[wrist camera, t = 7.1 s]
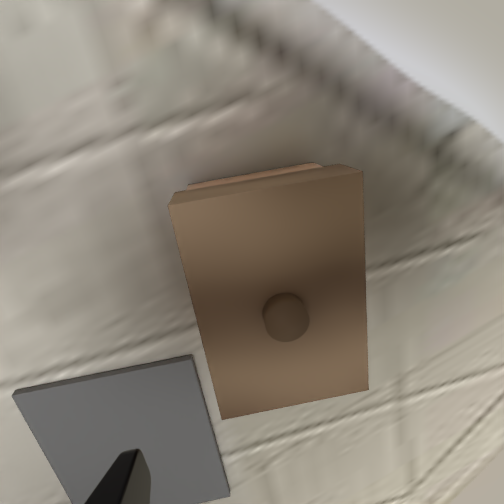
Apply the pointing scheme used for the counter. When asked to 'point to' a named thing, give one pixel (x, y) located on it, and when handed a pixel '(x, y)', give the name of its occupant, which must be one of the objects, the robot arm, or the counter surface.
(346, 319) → the lid
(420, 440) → the counter surface
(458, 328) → the counter surface
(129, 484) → the robot arm
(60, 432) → the mat
